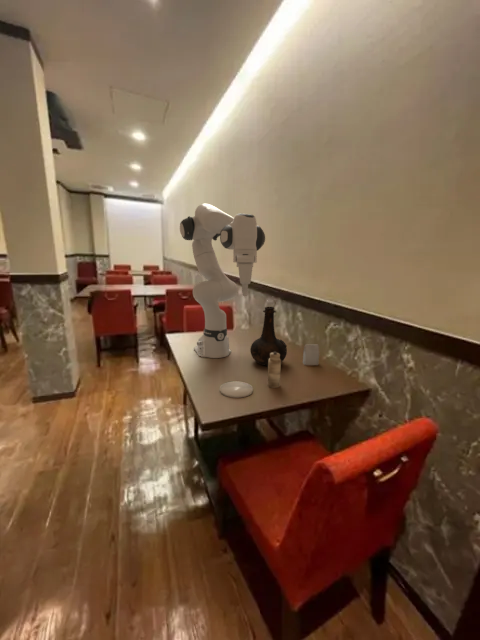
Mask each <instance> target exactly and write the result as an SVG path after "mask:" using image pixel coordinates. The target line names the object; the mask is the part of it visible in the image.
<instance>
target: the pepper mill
mask: <svg viewBox="0 0 480 640" xmlns="http://www.w3.org/2000/svg"><path fill="white" fill-rule="evenodd" d="M281 365H282V362H281V359H280V354H279V353H277V352H274V353H270V358H269V361H268V366H267V386H268V388H272V389H273V388H275V389H277V388H279V387H281V384H280V383H281Z"/></svg>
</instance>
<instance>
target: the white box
mask: <svg viewBox="0 0 480 640" xmlns="http://www.w3.org/2000/svg"><path fill="white" fill-rule="evenodd" d="M302 351H303V352H302V353H303V354H302V364H303V365H304V366H319V359H320V346H319V344H317V343H316V344H315V343H313V344H312V343H311V344H309V343H308V344H307V343H305V344H304V348H303V350H302Z"/></svg>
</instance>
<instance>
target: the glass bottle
mask: <svg viewBox="0 0 480 640" xmlns="http://www.w3.org/2000/svg"><path fill="white" fill-rule="evenodd" d="M262 312H263V313H264V317H263V326H262V331H261V334H260V337H259V338H257V339H255V340H254V341H253V342H252V343H251V346H250V348H249V349H250V350H249V351H250V355H251V357H252V359H253V360H254V361H255V362H256V363H258V364H260V365H262V366H267V367H268V361H269V358H270V353H274V352H277V353H279V354H280V359H281V363H282V362H283V361H284V360H285V358H286V357H287V355H288V352H287V351H288V350H287V344H286V343H285V342H284V340H282V339H278V338H277V337H276V332H275V321H274V320H275V315H274V314H275V313H276V312H277V311H276V310H275V307H273V306H265V307H264V310H263V311H262Z"/></svg>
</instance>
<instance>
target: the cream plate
mask: <svg viewBox="0 0 480 640" xmlns="http://www.w3.org/2000/svg"><path fill="white" fill-rule="evenodd" d="M253 392H254V387H253V386H252V385H251V384H250V383H248V382H244V381H238V380H237V381H236V380H234V381H227V382H224V383H222V384H221V385H220V386H219V393H220V394H221V395H223V396H225V397H228V398H233V399H237V398H238V399H241V398H245V397H249V396H250V395H252V394H253Z"/></svg>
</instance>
